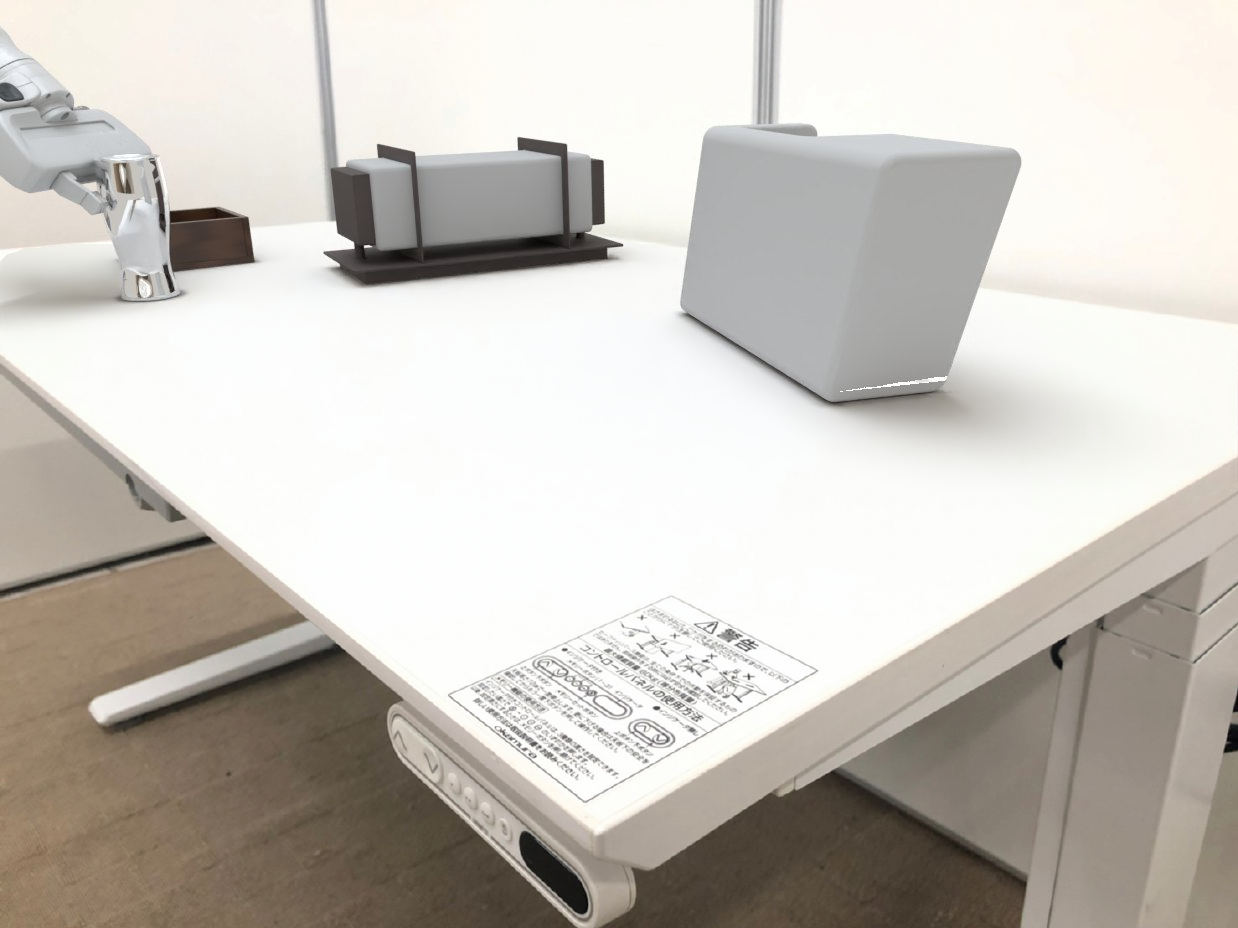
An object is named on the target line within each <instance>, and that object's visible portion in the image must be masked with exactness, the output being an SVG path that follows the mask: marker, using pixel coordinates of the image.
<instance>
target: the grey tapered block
mask: <svg viewBox="0 0 1238 928" xmlns="http://www.w3.org/2000/svg"><path fill="white" fill-rule="evenodd" d="M1021 168H1022V157H1021V154H1020V152H1018V151H1017V150H1016V149H1015V148H1013V147H1007V146H998V145H989V144H982V143H974V142H973V143H972V142H964V141H956V140H955V141H954V140H947V139H940V138H939V139H938V138H929V137H920V136H911V135H905V134H895V133H875V134H874V133H873V134H851V135H849V134H848V135H846V134H845V135H820V136H818V130H817V128H816V127H815V126H814V125H813V124H811V123H810V124H809V123H801V122H789V123H761V124H759V123H758V124H732V125H731V124H729V125H728V124H727V125H713V126H711V127H709V128H708V129H707V130H706V131H705V132H704V135H703V137H702V144H701V150H700V158H699V166H698V172H697V178H696V179H697V180H696V186H695V192H694V193H695V194H694V201H693V206H692V214H691V223H690V229H689V236H688V243H687V251H686V257H685V265H684V273H683V280H682V285H681V293H680V301H679V305H680V308H681V310H682V311H683V312H685V313H687V314H688V315H690V316H692V317H694V318H695V319H697V320H698V321H699V322H701V323H703V324H704V325H706V326H707V327H709V328H711V329H712V330H714V331H715V332H717V333H719V334H720V335H723V336H724V337H725V338H726V339H728V340H729V341H732V342H733V343H735V344H736V345H738V346H740V347H741V348H742V349H745V351H747V352H749V353H751V354H752V355H754V356H756V357H757V358H759V359H760V360H762V361H763V362H765V363H767V364H768V365H770V366H772V368H773V367H774V368H775V369H776V370H778V371H779V372H782V373H783V374H784V375H786V376H788V377H789V378H790V379H792V380H794V381H796V382H797V383H799V384H800V385H802V386H803V387H805V388H806V389H808V390H810V391H811V392H813V393H815V394H816V395H818V396H820V398H822V399H825V400H826V401H828V402H831V403H839V402H848V401H849V402H850V401H856V400H858V401H859V400H866V399H867V400H869V399H876V398H887V397H895V396H904V395H914V394H923V393H932V392H935V391H937V390H940V389H941V387H943V386H944V385H945V384H946V382H947V380H945V381H938V382H929V383H919V384H910V385H900V386H891V387H881V388H872V389H862V390H853V391H846V390H852V389H858V388H859V389H860V388H864V387H865V388H866V387H877V386H883V385H887V384H893V383H898V382H908V381H909V382H910V381H915V380H922V379H928V378H934V377H945V376H948V377H949V374H950V372H951V369H952V365H953V363H954V360H955V357H956V354H957V352H958V348H959V345H960V343H961V340H962V336H963V334H964V331H965V329H966V325H967V322H968V319H969V316H970V314H971V312H972V308H973V305H974V302H975V300H976V298H977V294H978V291H979V288H980V285H981V282H982V280H983V277H984V274H985V272H986V268H987V265H988V263H989V259H990V257H991V254H992V252H993V248H994V245H995V243H996V239H997V236H998V234H999V231H1000V228H1001V225H1002V222H1003V220H1004V217H1005V214H1006V211H1007V208H1008V205H1009V202H1010V199H1011V197H1012V195H1013V194H1012V193H1013V191H1014V188H1015V186H1016V182H1017V179H1018V176H1019V174H1020V171H1021ZM840 391H843V392H840Z"/></svg>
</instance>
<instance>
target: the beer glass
mask: <svg viewBox="0 0 1238 928" xmlns="http://www.w3.org/2000/svg"><path fill="white" fill-rule="evenodd" d="M93 160H94V165H95V176H96V182H95V183H96V191H98V192H99V193H100V194H101V195H102V197H103V198H105V199H106V200H107V201H108V207H107V208H106V209H105V211H104V212H103V213H101V215H102V218H103V221H104V225H105V227H106V230H107V232H108V236H109V238H110V240H111V243H112V246H113V248H114V251H115V254H116V257H117V260H118V265H119V271H120V297H121V299H122V300H125V301H128V302H151V301H161V300H165V299H170V298H174V297H178V296H179V295H180V293H181V290H180V289H181V288H180V286H179V284H178V280H177V277H176V275H175V271H173V269H172V264H171V256H170V211H171V204H170V197H169V196H170V195H169V190H168V186H167V180H166V176H165V173H164V169H163V165H162V159H161V155H159V154H153V153H152V154H128V155H111V156H102V157H96V158H94V159H93Z"/></svg>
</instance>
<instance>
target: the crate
mask: <svg viewBox="0 0 1238 928" xmlns="http://www.w3.org/2000/svg"><path fill="white" fill-rule="evenodd" d="M253 247H254V245H253V240H252V233H251V225H250V218H249V216H246V215H244V214H241V213H239V212H235V211H233V210H230V209H227V208H224V207H222V206H208V207H207V206H206V207H196V208H184V209H172V210H171V209H170V256H171V264H172V269H173V272H180V271H188V270H196V269H197V270H198V269H206V268H216V267H223V266H232V265H234V266H235V265H242V264H251V263H255V262H256V261H255V255H254V248H253Z"/></svg>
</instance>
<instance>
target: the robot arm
mask: <svg viewBox="0 0 1238 928" xmlns="http://www.w3.org/2000/svg"><path fill="white" fill-rule="evenodd" d="M128 154H153V152H152V150H151V148H150V146H149V145H148V144H147V143H146V142H145V140H143V139H142V138H141V137H140V136H138V135H137V134H136V133H135V132H134V131H133V130H131V129H130V128H129V127H128V126H127V125H125V124H124V123H123V122H121V120H119V119H118V118H116V117H115V116H113V115H112V114H111V113H110V112H107V111H106V110H103V109H99V108H91V109H90V107H88V106H87V105H78V106H75V97H74V95H73V94H72V93H71V91H69V90H68V89H67V88H66V87H65V86H64V85H63V84H62V83H60V81H59V80H58V79H57V78H55V77H54V75H52V74H51V73H50V72H49V71H48V70H47V69H46V68H45V67H44V66H43V65H42V64H41V63H40V62H39V61H37V60H36V59H35V58H34V57H32V56H31V55H29V54H27V53H25V52H23V51H22V50H20V48H19V47H17V45H16V44H15V43H14V41H13V39H12V37H11V36H10V35H9V33H8V32H7V31H6V30H5V29H4V28H3V27H2V26H0V177H1V178H3V180H5V181H6V182H7V183H8V184H9V185H11V186H12V187H14V188H15V189H18V190H19V191H21V192H24V193H26V194H34V193H39V192H46V191H52V190H53V191H54V192H55V193H56V194H57V195H58V196H60V197H62V198H64V199H66V200H68V201H70V202H72V203H74V204H76V205H79V206H81V207H82V208H83V209H84V210H85V211H86V212H87V213H88V214H89V215H91V216H96V215H100V214H102V213H103V212H104V211H105V209H106V208H107V207H108V201H107V200H106V199H105V198H103V197H102V195H101V194H100V193H99V192H98V191H97V190H95V191H92V190H90V188H87V187H86V186H85V185H86V184H92V183H96V176H95V165H94V160H93V159H94V158H96V157H102V156H111V155H128Z"/></svg>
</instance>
